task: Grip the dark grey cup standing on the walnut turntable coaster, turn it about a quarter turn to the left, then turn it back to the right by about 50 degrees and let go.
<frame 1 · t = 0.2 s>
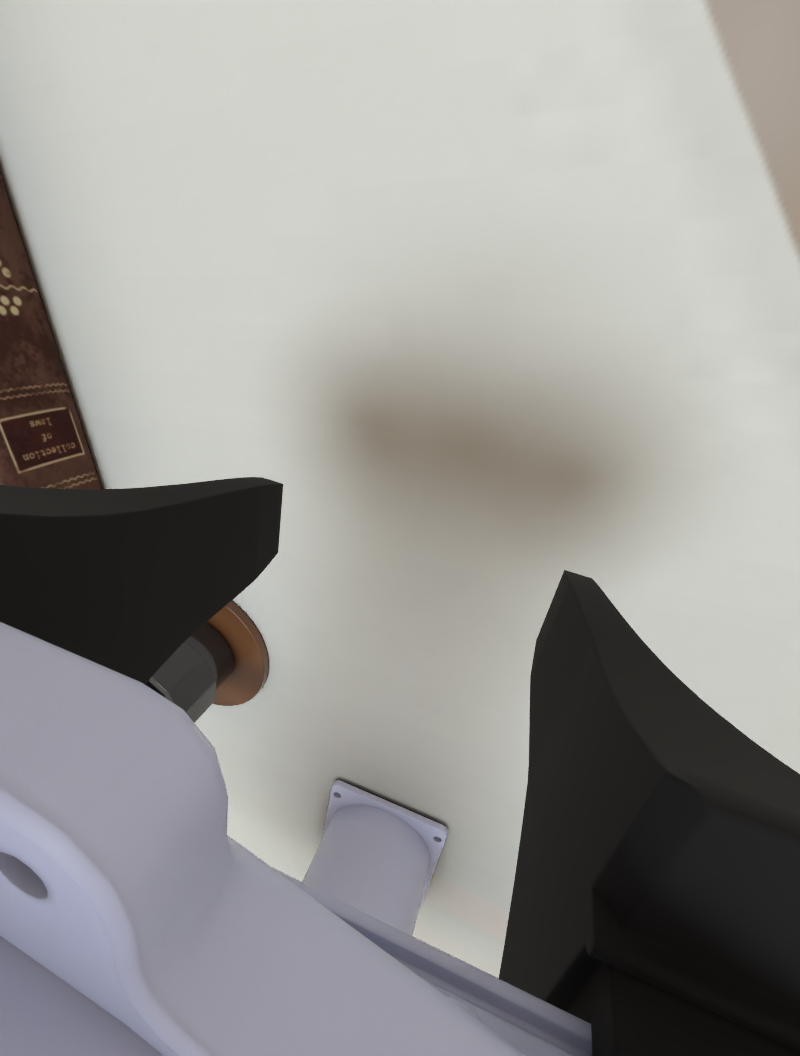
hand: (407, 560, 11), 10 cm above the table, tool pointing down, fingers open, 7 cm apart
turntable: (207, 644, 30), on the table
dark grey cup: (162, 671, 28), point 3 cm above the table, hinge at 0.0°
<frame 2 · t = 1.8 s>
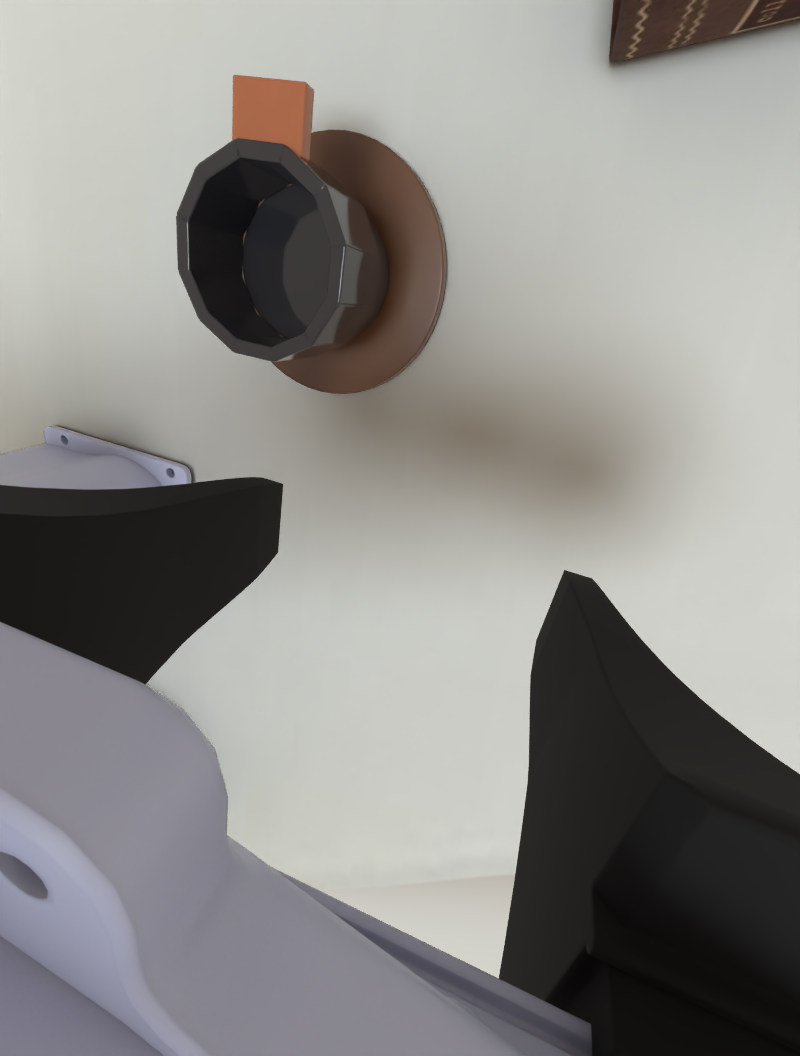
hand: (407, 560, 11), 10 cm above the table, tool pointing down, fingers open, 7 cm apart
turntable: (336, 276, 19), on the table
dark grey cup: (299, 244, 16), point 3 cm above the table, hinge at 0.0°
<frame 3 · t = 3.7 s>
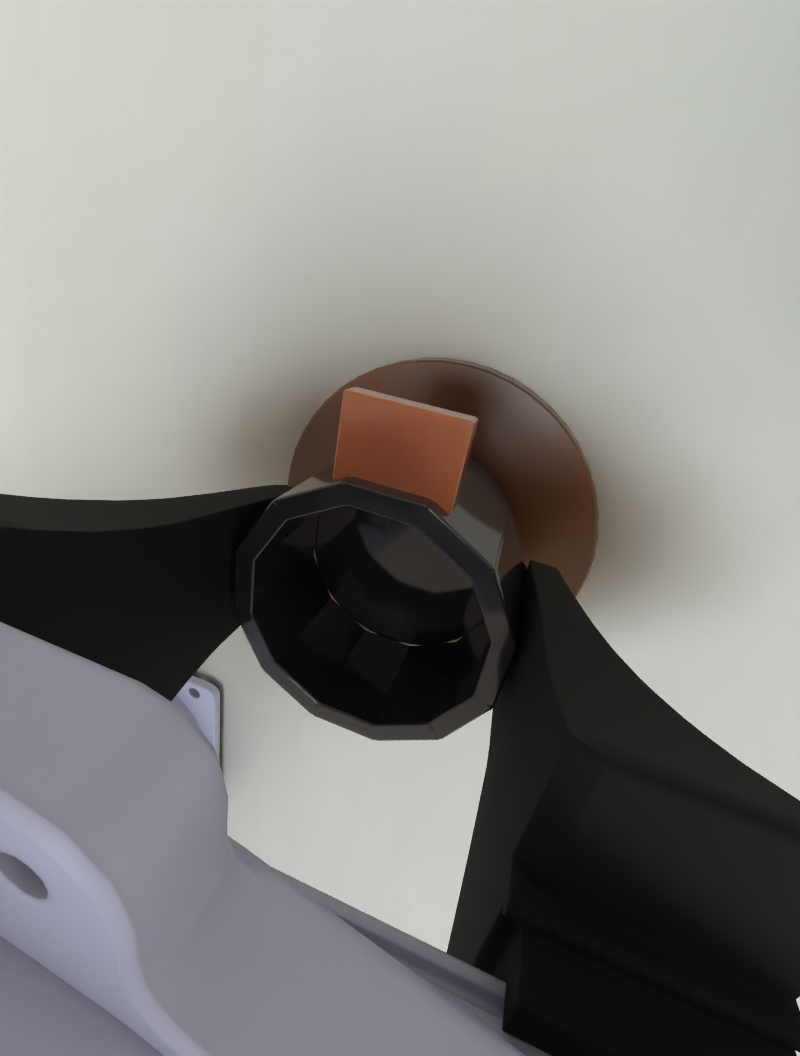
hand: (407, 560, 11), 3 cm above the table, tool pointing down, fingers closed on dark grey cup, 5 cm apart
turntable: (432, 519, 14), on the table
dark grey cup: (405, 542, 11), point 3 cm above the table, hinge at 0.0°, touching gripper
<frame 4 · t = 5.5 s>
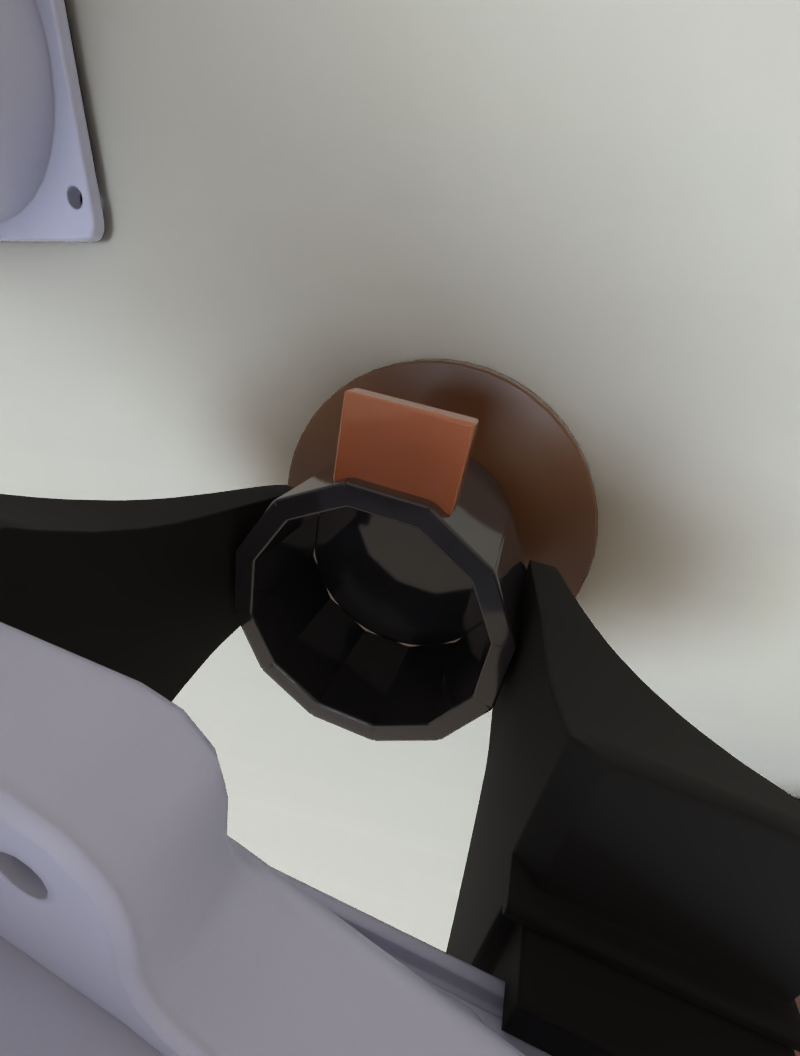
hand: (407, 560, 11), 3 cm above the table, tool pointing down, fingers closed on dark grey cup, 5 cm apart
turntable: (432, 519, 14), on the table
dark grey cup: (405, 542, 11), point 3 cm above the table, hinge at 81.6°, touching gripper
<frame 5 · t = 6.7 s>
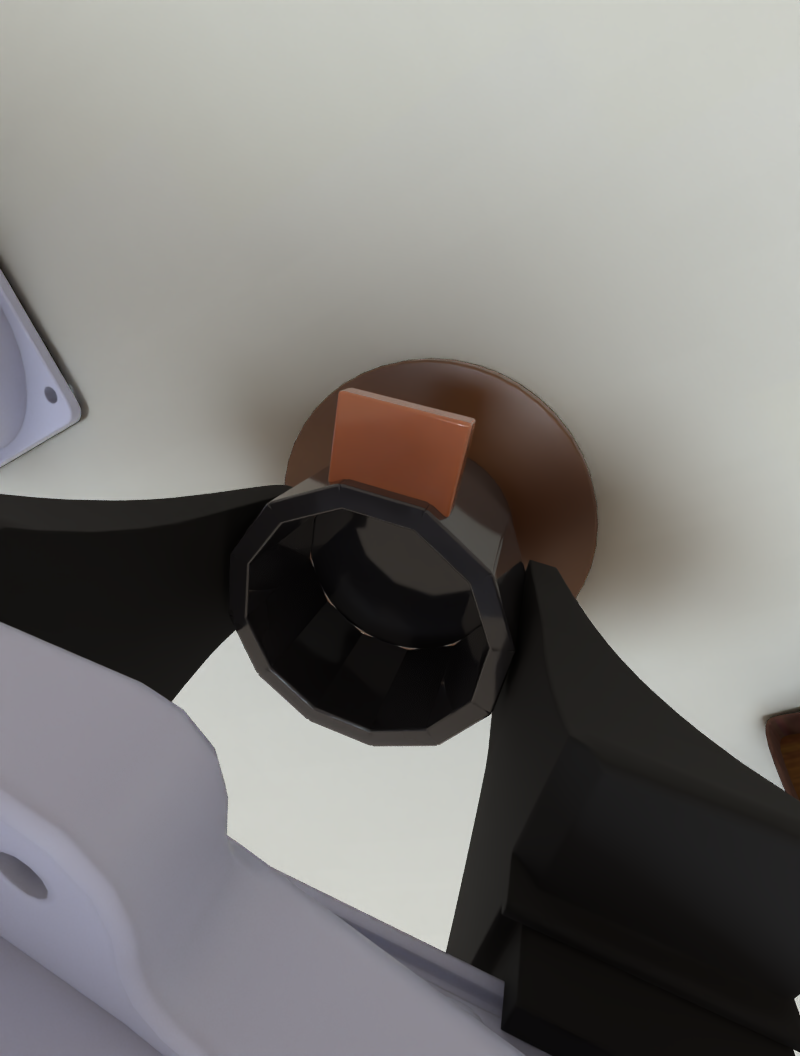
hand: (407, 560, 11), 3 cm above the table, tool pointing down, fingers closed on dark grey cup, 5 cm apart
turntable: (430, 521, 14), on the table
dark grey cup: (403, 544, 11), point 3 cm above the table, hinge at 55.7°, touching gripper
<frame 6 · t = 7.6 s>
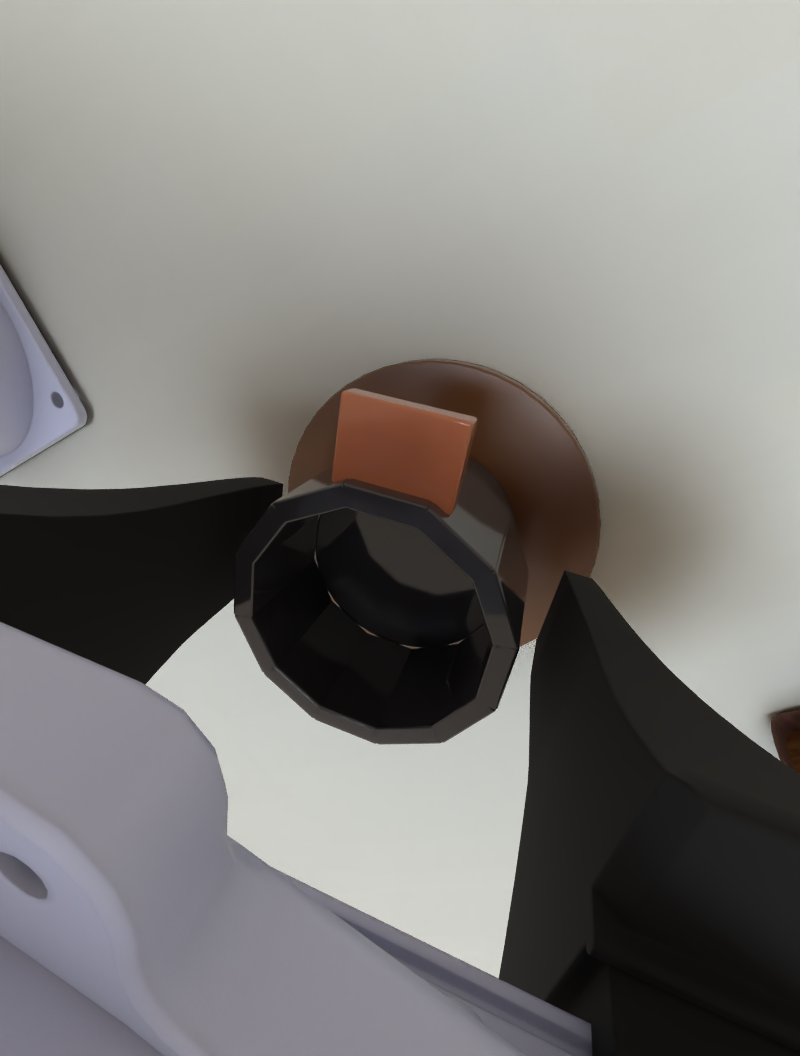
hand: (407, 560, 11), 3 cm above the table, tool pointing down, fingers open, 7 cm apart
turntable: (433, 521, 14), on the table
dark grey cup: (406, 544, 11), point 3 cm above the table, hinge at 55.7°
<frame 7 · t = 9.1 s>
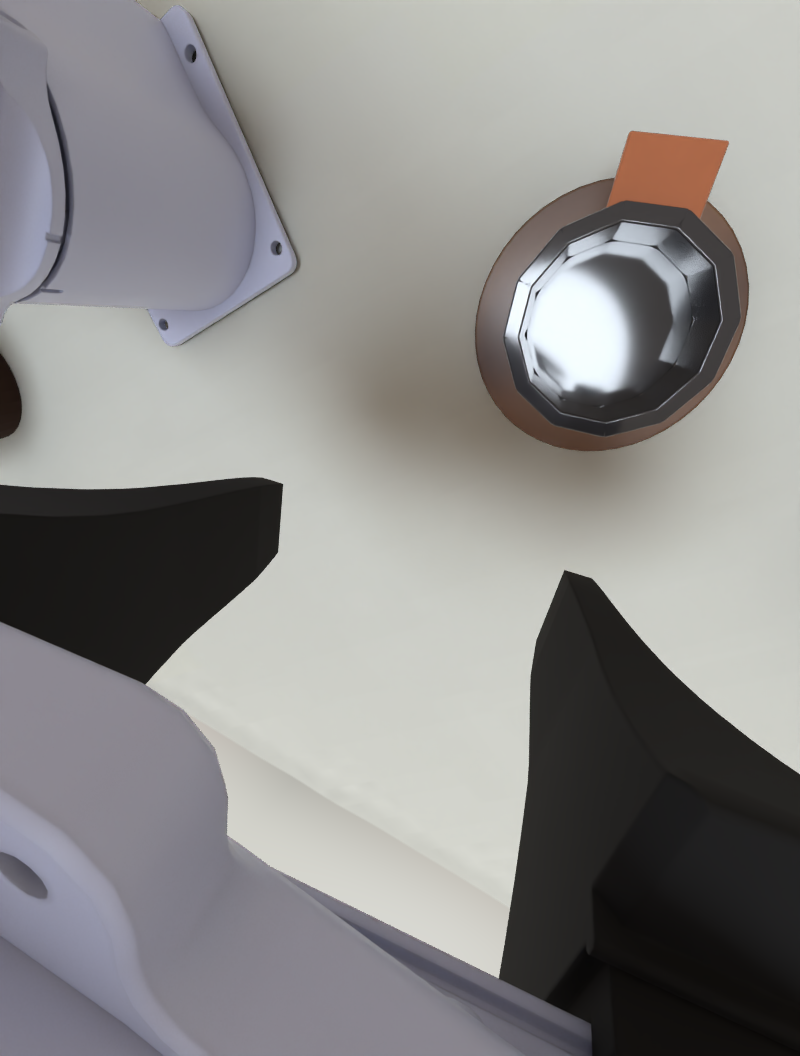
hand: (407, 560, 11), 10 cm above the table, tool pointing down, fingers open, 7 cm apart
turntable: (598, 328, 17), on the table
dark grey cup: (614, 304, 14), point 3 cm above the table, hinge at 55.7°
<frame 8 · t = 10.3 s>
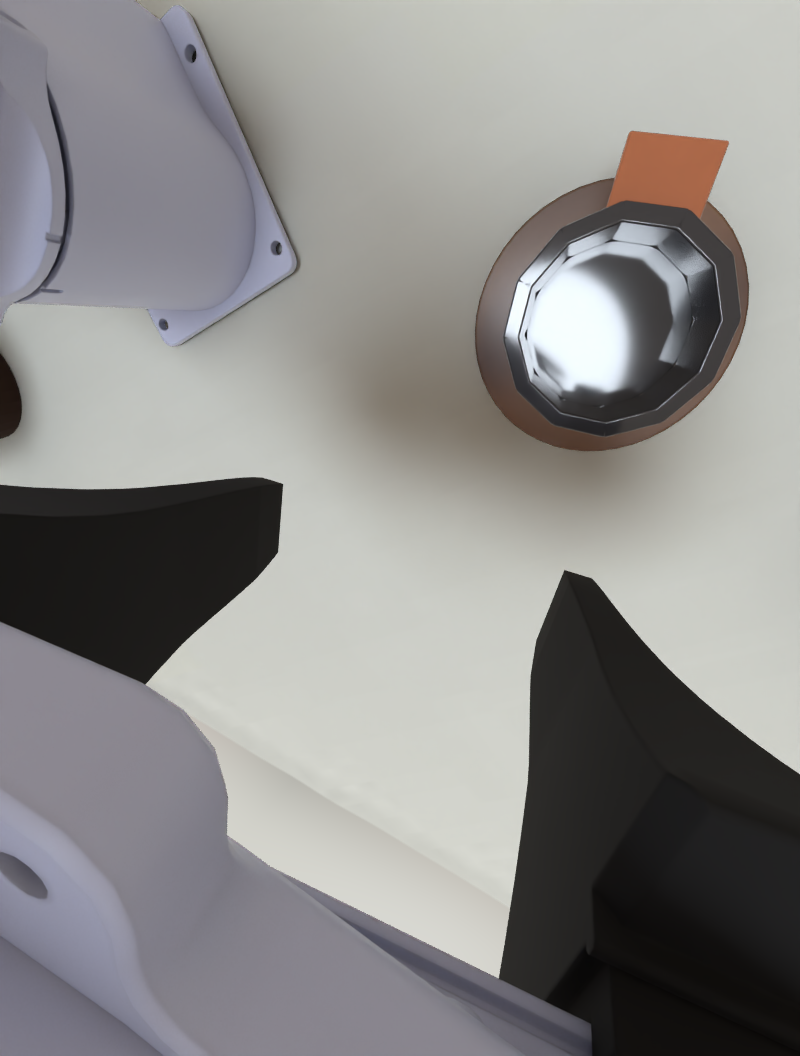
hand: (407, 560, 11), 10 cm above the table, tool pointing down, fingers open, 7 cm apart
turntable: (598, 328, 17), on the table
dark grey cup: (614, 304, 14), point 3 cm above the table, hinge at 55.7°
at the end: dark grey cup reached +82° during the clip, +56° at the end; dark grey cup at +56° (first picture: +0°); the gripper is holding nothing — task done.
